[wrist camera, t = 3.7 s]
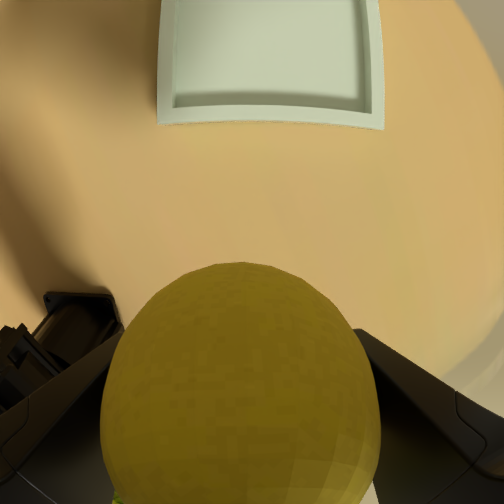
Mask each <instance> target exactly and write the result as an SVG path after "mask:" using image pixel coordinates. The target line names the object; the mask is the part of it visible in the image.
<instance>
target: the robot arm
mask: <svg viewBox="0 0 504 504" xmlns="http://www.w3.org/2000/svg"><path fill="white" fill-rule="evenodd" d="M49 298H50V299H49ZM43 299H44V302H45V305H46V308H47V311H48V315H47V316H46V317H45V318H44V319H43V321H42V322H41V323H40V324H39V325H38V327H37V328H36V329H35V330H34V332H33V333H32V334H30V333H29V332H28V331H27V327H26V326H25V325H24V324H23V323H21V324H20V325H19V327H18V328H17V329H15V328H14V327H13V328H11V327H8V326H6V325H5V326H4V327H3V328H2V329H1V330H0V504H112V502H113V497H114V492H115V488H114V486H113V484H112V481H111V479H110V476H109V474H108V471H107V468H106V465H105V463H104V459H103V454H102V448H101V442H100V414H101V404H102V397H103V391H104V387H105V383H106V379H107V376H108V372H109V369H110V365H111V362H112V358H113V355H114V353H115V350H116V348H117V345H118V343H119V341H120V339H121V337H122V335H123V333H124V327H123V324H122V323H121V322H120V320H119V316H118V312H117V308H116V304H115V300H114V298H113V297H112V296H110V295H107V294H83V293H63V292H47V293H46V294H45V295H44V296H43ZM106 300H107V301H108V302H109V303H110V304H109V303H107V302H106ZM352 330H353V331H354V333H355V334H356V336H357V337H358V339H359V341H360V342H361V344H362V346H363V348H364V350H365V352H366V355H367V357H368V360H369V362H370V366H371V369H372V373H373V376H374V381H375V386H376V392H377V398H378V404H379V411H380V422H381V448H380V455H379V461H378V465H377V468H376V471H375V474H374V477H373V480H372V481H373V484H374V487H375V491H376V495H377V498H378V502H379V504H504V418H503V417H501V416H498V415H497V414H495V413H493V412H491V411H489V410H487V409H486V408H484V407H482V406H480V405H479V404H477V403H475V402H474V401H472V400H470V399H469V398H467V397H466V396H464V395H463V394H461V393H459V392H458V391H455V390H454V389H453V388H452V387H450V386H448V385H447V384H445V383H444V382H442V381H441V380H439V379H438V378H436V377H435V376H433V375H432V374H430V373H428V372H427V371H425V370H424V369H422V368H421V367H419V366H418V365H416V364H415V363H413V362H412V361H410V360H408V359H407V358H405V357H404V356H402V355H401V354H399V353H398V352H396V351H395V350H393V349H392V348H390V347H388V346H387V345H385V344H384V343H382V342H381V341H379V340H378V339H376V338H375V337H373V336H372V335H370V334H369V333H367V332H366V331H364V330H362V329H352Z"/></svg>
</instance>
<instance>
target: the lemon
mask: <svg viewBox="0 0 504 504" xmlns="http://www.w3.org/2000/svg"><path fill="white" fill-rule="evenodd" d="M100 442H101V448H102V454H103V459H104V463H105V465H106V468H107V471H108V474H109V476H110V479H111V481H112V484H113V486H114V488H115V490H116V492H117V494H118V495H119V497H120V499H121V500H122V502H123V503H124V504H359V503H360V501H361V500H362V498H363V496H364V495H365V493H366V491H367V490H368V488H369V486H370V484H371V482H372V480H373V477H374V474H375V471H376V468H377V465H378V461H379V455H380V448H381V422H380V411H379V404H378V398H377V392H376V386H375V381H374V376H373V373H372V369H371V366H370V362H369V360H368V357H367V355H366V352H365V350H364V348H363V346H362V344H361V342H360V341H359V339H358V337H357V336H356V334H355V333H354V331H353V330H352V328H351V327H350V325H349V324H348V322H347V321H346V320H345V318H344V317H343V315H342V314H341V313H340V311H339V310H338V308H337V307H336V306H335V305H334V304H333V303H332V302H331V301H330V300H329V299H328V298H327V297H325V296H324V295H323V294H321V293H320V292H319V291H317V290H316V289H315V288H313V287H312V286H311V285H310V284H308V283H307V282H306V281H304V280H303V279H302V278H299V277H297V276H294V275H292V274H289V273H287V272H284V271H282V270H280V269H277V268H275V267H272V266H267V265H260V264H254V263H247V262H237V263H224V264H214V265H211V266H208V267H205V268H202V269H199V270H196V271H192V272H190V273H187V274H184V275H183V276H181V277H180V278H178V279H177V280H175V281H173V282H172V283H170V284H169V285H167V286H166V287H164V288H163V289H161V290H160V291H159V292H157V293H156V294H155V295H154V296H153V297H152V298H151V299H150V300H149V301H148V302H147V303H146V305H145V306H144V307H143V308H142V309H141V311H140V312H139V313H138V314H137V315H136V317H135V318H134V319H133V320H132V321H131V323H130V324H129V326H128V327H127V328H126V330H125V331H124V333H123V335H122V337H121V339H120V341H119V343H118V345H117V348H116V350H115V353H114V355H113V358H112V362H111V365H110V369H109V372H108V376H107V379H106V383H105V387H104V391H103V397H102V404H101V414H100Z"/></svg>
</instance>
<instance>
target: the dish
mask: <svg viewBox="0 0 504 504" xmlns="http://www.w3.org/2000/svg"><path fill="white" fill-rule="evenodd" d="M212 122H287V123H307V124H321V125H333V126H344V127H353V128H362V129H370V130H384V62H383V45H382V32H381V22H380V13H379V5H378V0H162V2H161V14H160V27H159V43H158V68H157V125H165V126H166V125H178V124H192V123H212Z"/></svg>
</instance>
